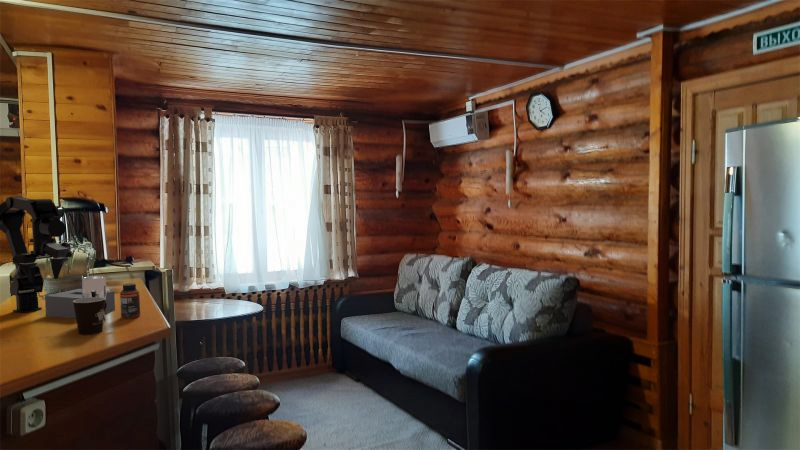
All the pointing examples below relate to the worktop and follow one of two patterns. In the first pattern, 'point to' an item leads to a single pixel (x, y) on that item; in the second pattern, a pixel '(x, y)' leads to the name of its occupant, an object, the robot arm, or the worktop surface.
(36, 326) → the worktop surface
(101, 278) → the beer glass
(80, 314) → the coffee mug
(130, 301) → the supplement bottle
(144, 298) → the worktop surface
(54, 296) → the coin box
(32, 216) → the robot arm
